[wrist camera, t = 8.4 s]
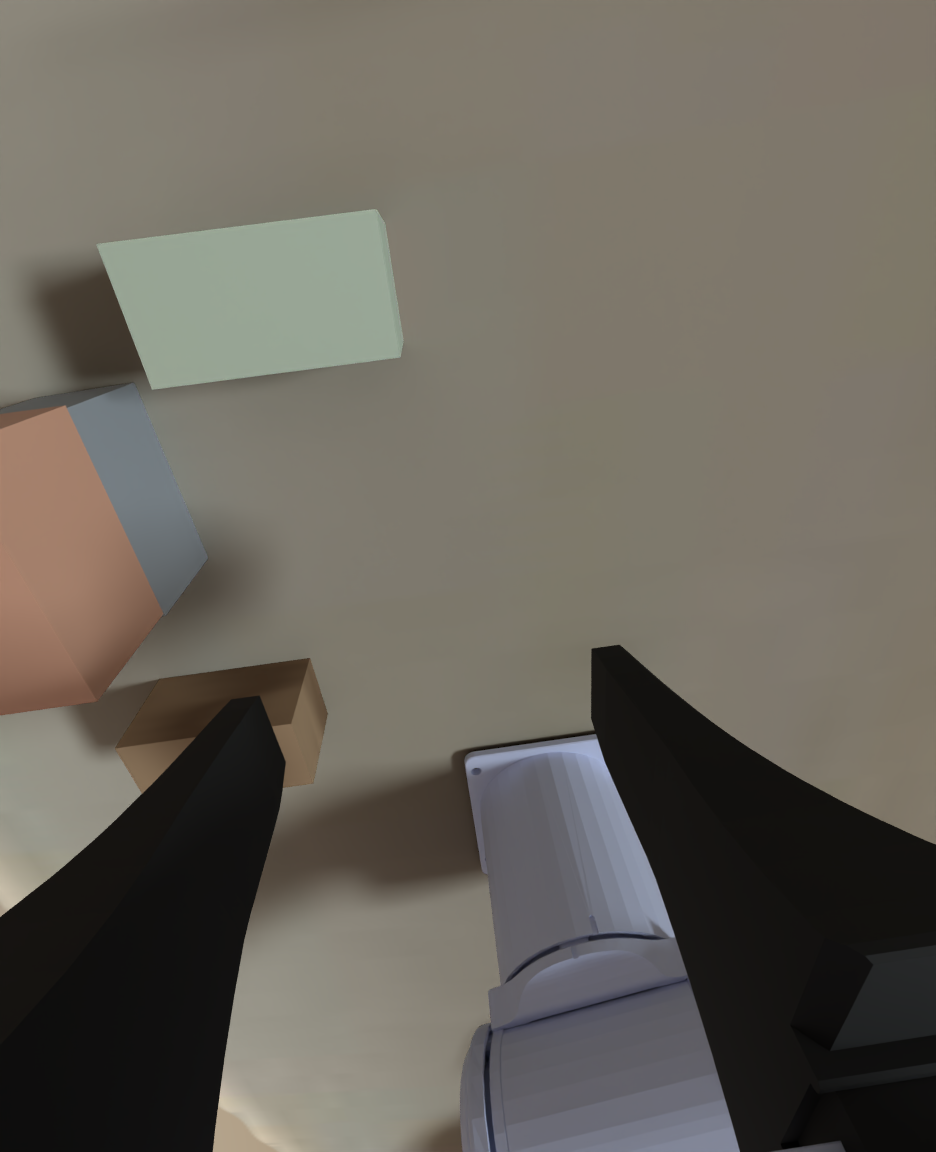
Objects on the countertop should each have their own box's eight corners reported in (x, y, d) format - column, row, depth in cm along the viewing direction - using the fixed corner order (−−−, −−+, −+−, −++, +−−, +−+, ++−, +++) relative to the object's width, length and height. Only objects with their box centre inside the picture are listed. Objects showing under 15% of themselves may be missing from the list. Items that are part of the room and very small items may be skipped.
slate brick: (208, 558, 20) (165, 615, 17) (124, 570, 20) (64, 631, 17) (134, 382, 17) (63, 409, 14) (35, 397, 17) (-62, 428, 14)
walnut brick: (310, 656, 23) (291, 723, 20) (327, 711, 25) (313, 783, 21) (160, 677, 23) (114, 748, 20) (187, 731, 25) (150, 806, 21)
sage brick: (385, 223, 16) (376, 209, 12) (403, 341, 17) (400, 357, 14) (167, 251, 16) (95, 244, 12) (205, 366, 17) (152, 389, 14)
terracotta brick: (163, 613, 17) (97, 701, 13) (61, 628, 17) (-33, 719, 13) (65, 405, 14) (-55, 449, 10) (-61, 421, 14) (-224, 471, 10)
